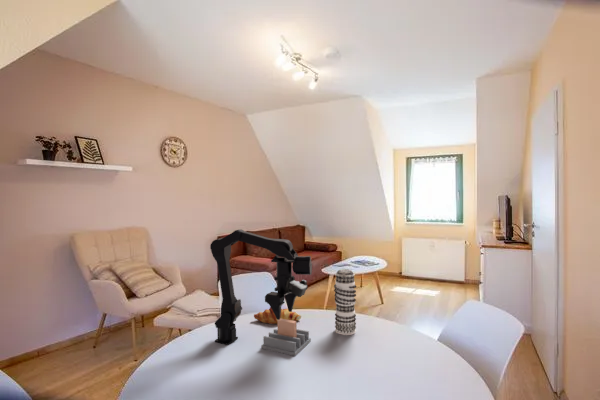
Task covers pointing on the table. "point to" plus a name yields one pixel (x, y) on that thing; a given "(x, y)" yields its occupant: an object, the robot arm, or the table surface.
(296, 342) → the dish rack
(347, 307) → the black-white patterned cylinder
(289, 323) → the terracotta plate
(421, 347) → the table surface
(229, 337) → the robot arm
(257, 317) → the croissant
